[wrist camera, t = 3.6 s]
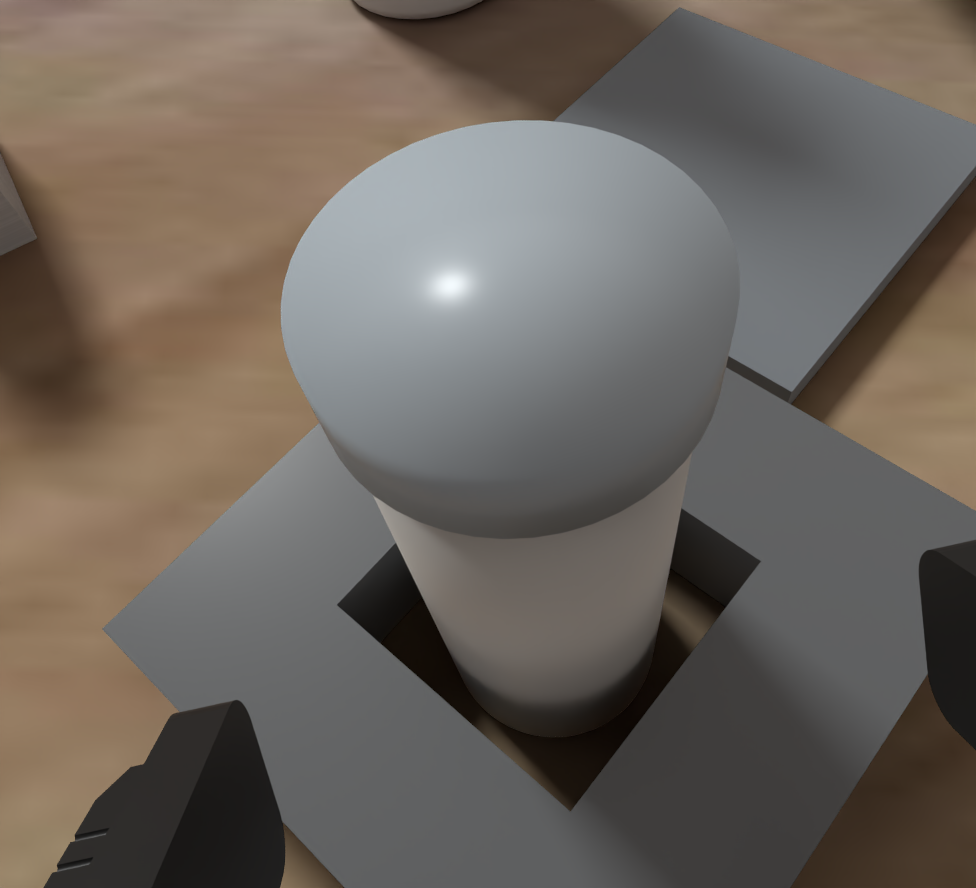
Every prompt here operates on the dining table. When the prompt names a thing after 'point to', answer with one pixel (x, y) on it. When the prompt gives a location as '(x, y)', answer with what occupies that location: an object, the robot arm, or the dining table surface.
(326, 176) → the dining table surface
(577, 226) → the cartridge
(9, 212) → the white paper packet
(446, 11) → the milk bottle
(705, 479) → the housing
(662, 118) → the mat
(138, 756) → the dining table surface
